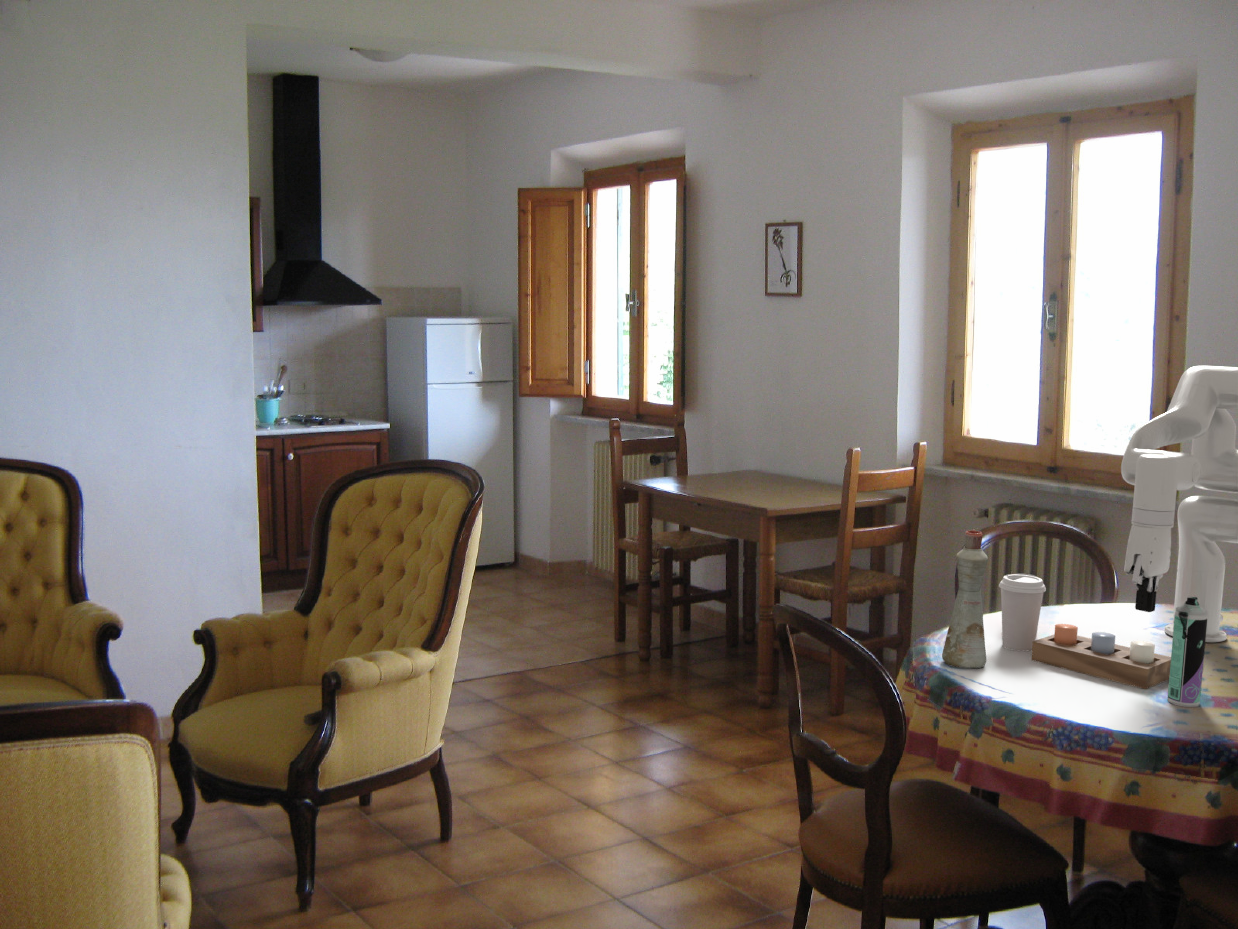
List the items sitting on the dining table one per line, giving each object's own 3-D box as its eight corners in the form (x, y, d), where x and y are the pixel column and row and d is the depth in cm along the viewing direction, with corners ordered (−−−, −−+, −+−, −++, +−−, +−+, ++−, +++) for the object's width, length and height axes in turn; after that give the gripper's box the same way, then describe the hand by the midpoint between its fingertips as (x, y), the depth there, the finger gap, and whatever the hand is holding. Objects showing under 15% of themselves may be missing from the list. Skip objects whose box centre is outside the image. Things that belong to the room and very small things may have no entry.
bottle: (949, 671, 242) (958, 532, 238) (936, 657, 251) (944, 524, 247) (992, 671, 242) (1001, 533, 238) (977, 658, 251) (986, 525, 247)
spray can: (1197, 709, 222) (1207, 602, 219) (1165, 703, 225) (1174, 597, 222) (1201, 701, 226) (1210, 596, 224) (1169, 695, 229) (1178, 592, 227)
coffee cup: (1019, 639, 267) (1023, 572, 265) (1051, 650, 258) (1056, 581, 256) (985, 643, 262) (989, 575, 260) (1017, 655, 254) (1022, 585, 252)
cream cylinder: (1134, 663, 242) (1136, 639, 242) (1156, 668, 239) (1158, 644, 239) (1124, 667, 240) (1126, 643, 239) (1146, 672, 236) (1148, 648, 236)
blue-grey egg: (1096, 653, 248) (1098, 631, 248) (1117, 658, 245) (1119, 635, 244) (1086, 657, 245) (1087, 634, 245) (1107, 662, 242) (1108, 639, 242)
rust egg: (1060, 645, 254) (1061, 622, 254) (1080, 649, 251) (1081, 627, 250) (1049, 648, 251) (1051, 626, 251) (1069, 653, 248) (1071, 630, 247)
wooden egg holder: (1060, 650, 258) (1061, 632, 258) (1173, 677, 241) (1175, 658, 240) (1031, 660, 250) (1032, 641, 250) (1145, 689, 233) (1147, 669, 232)
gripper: (1151, 512, 243) (1143, 601, 245) (1116, 518, 233) (1108, 611, 235) (1189, 517, 238) (1180, 609, 240) (1154, 524, 228) (1146, 619, 230)
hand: (1144, 610), depth 237 cm, fingers closed
